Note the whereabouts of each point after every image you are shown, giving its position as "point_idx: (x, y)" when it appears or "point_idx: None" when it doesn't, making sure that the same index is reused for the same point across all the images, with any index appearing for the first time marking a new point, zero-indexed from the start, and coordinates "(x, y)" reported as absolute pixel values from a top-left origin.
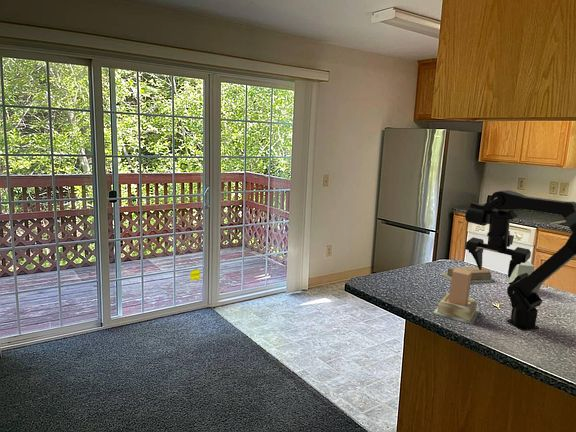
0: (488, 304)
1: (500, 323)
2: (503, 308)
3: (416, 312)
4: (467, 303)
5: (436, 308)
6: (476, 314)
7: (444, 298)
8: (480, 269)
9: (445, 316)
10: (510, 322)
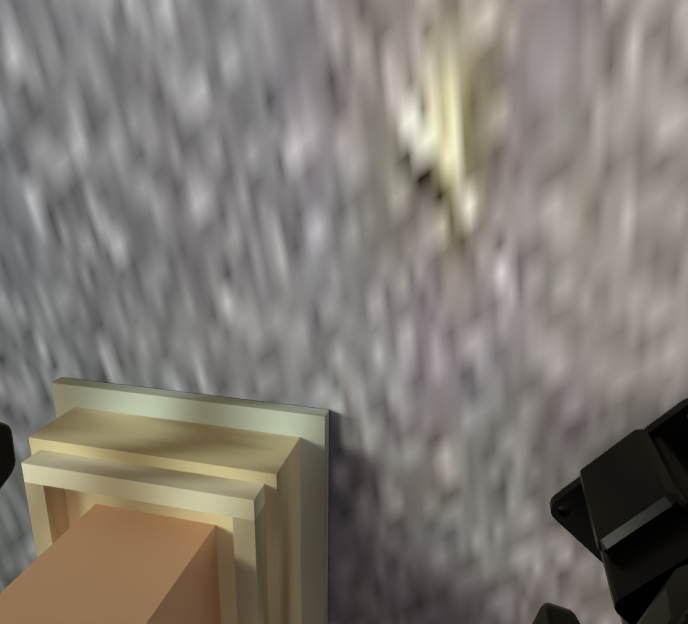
0: (365, 164)
1: (502, 552)
2: (510, 181)
3: None
4: (215, 540)
5: None
6: (318, 514)
7: None
8: (6, 474)
9: None
10: (578, 539)
